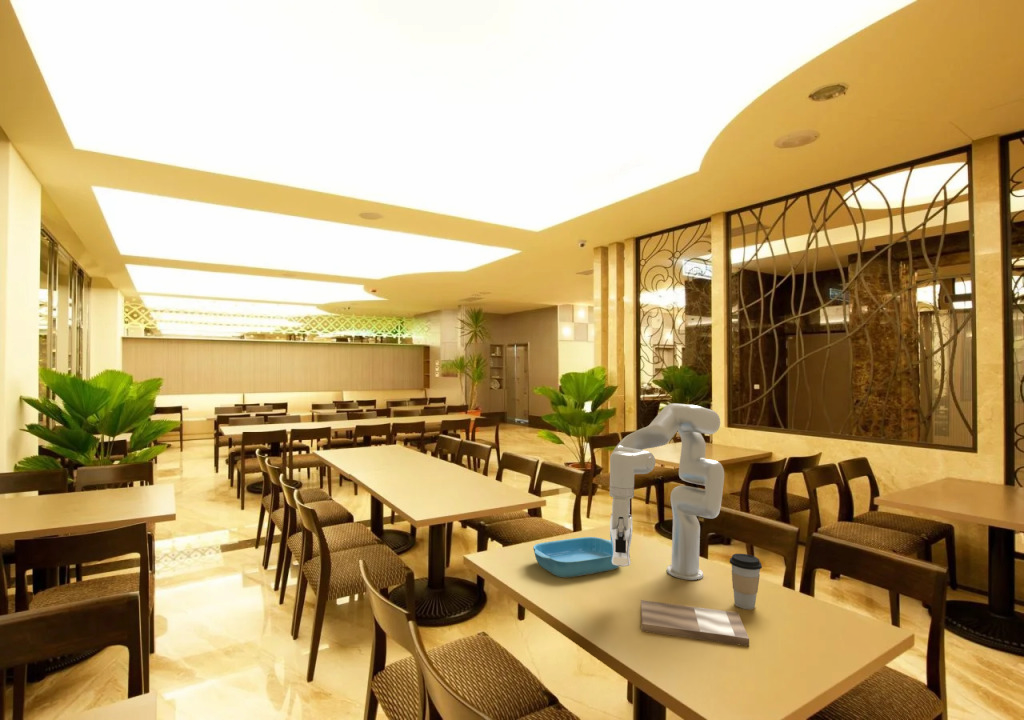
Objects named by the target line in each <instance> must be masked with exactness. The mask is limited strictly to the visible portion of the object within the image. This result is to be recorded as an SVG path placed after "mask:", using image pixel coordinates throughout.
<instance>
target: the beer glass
mask: <svg viewBox="0 0 1024 720" xmlns="http://www.w3.org/2000/svg"><path fill="white" fill-rule="evenodd" d="M616 529H617V527H616ZM616 529H614V530H613V529H612V513H610V521H609V535H610V537H609V538H610V540H611V543H612V557H611V563H612V564H613V565H616V566H619V567H622V568H623V567H629V566H630V565H631V557H630V550H631V549H630V548H631V544H632V539H633V538H632V537H633V516H632V514H630V513H629V523H628V530H627V531H625V540H626V553H618V552H615V539H616ZM618 529H619V525H618ZM623 529H624V526H623ZM618 533H619V531H618ZM623 534H624V532H623Z"/></svg>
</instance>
